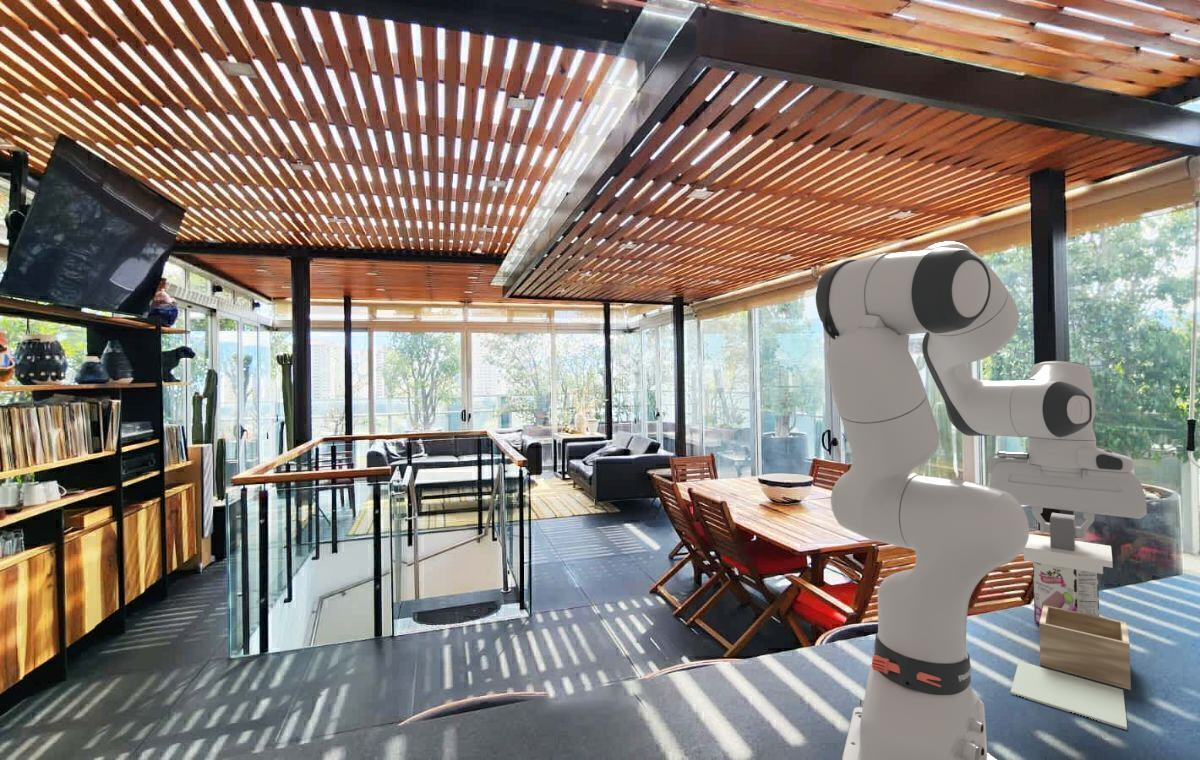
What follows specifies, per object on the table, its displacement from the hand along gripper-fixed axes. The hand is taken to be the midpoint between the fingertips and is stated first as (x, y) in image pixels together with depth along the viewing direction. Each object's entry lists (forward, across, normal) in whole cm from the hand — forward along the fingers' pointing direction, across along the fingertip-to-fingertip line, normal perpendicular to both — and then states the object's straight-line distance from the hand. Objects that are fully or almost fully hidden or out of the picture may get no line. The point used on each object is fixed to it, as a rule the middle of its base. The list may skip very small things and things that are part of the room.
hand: (1062, 535), depth 90 cm
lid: (+4, 0, 0) cm, 4 cm away
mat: (+27, 0, 0) cm, 27 cm away
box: (+27, +2, +15) cm, 31 cm away
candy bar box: (+27, -1, +30) cm, 40 cm away
